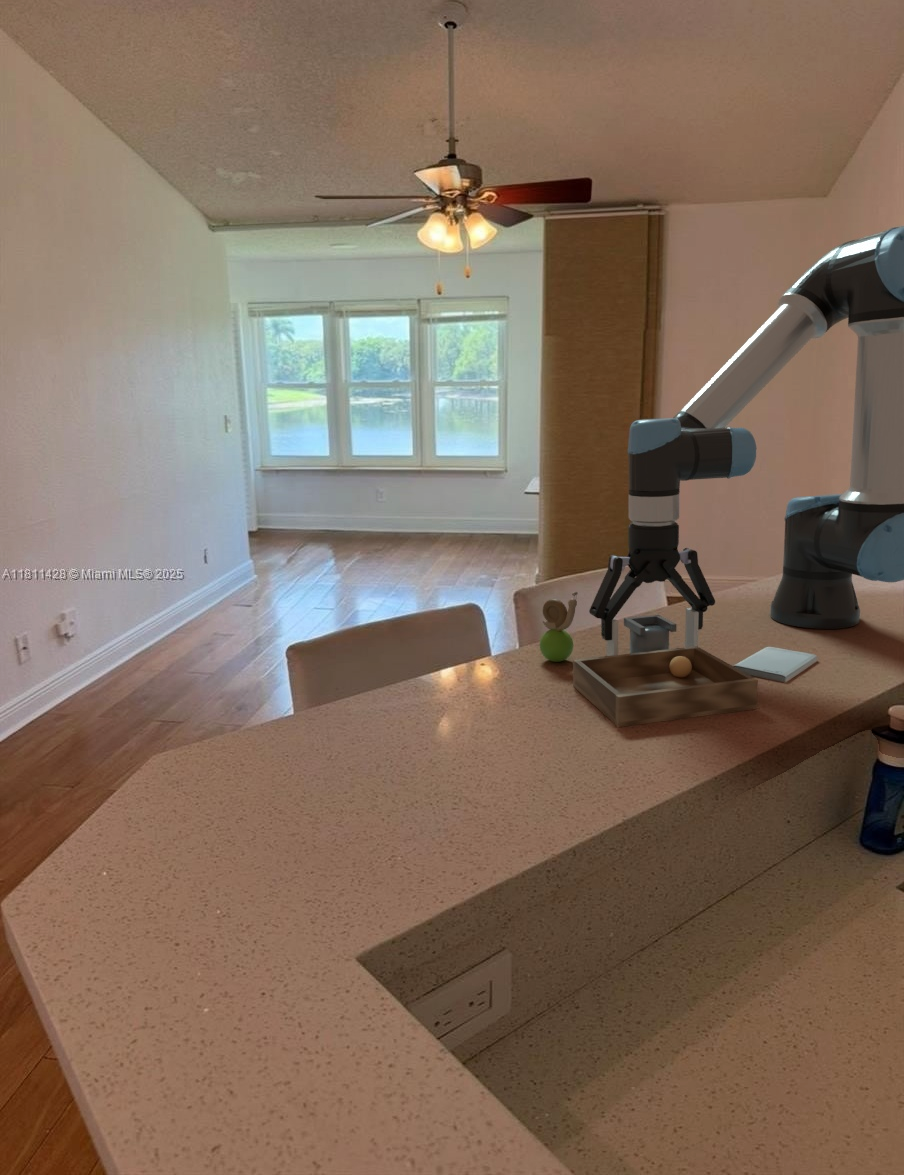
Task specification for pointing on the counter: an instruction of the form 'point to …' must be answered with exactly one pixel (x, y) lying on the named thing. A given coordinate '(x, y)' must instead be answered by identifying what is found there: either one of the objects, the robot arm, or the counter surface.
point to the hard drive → (776, 663)
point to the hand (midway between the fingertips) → (652, 654)
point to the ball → (680, 666)
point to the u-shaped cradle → (649, 633)
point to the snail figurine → (557, 629)
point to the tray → (663, 686)
